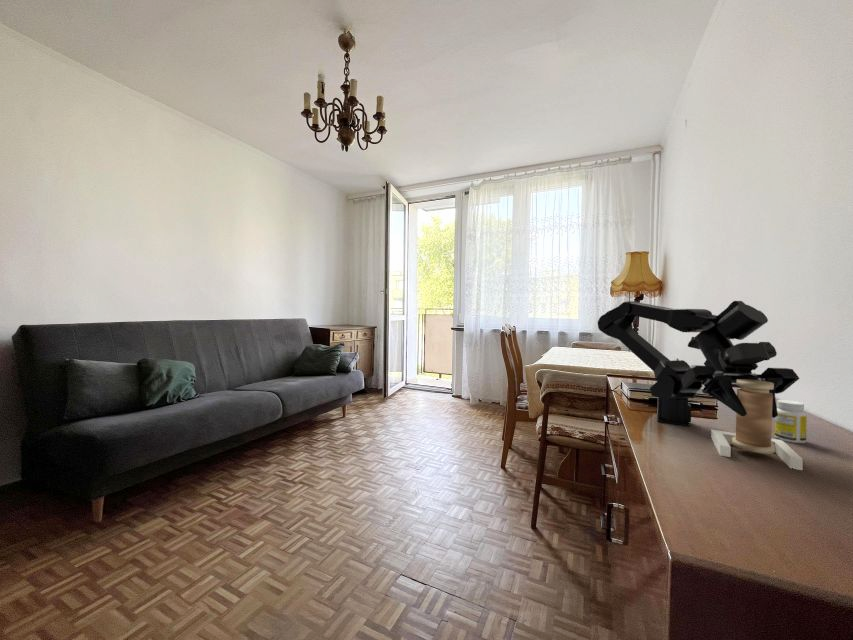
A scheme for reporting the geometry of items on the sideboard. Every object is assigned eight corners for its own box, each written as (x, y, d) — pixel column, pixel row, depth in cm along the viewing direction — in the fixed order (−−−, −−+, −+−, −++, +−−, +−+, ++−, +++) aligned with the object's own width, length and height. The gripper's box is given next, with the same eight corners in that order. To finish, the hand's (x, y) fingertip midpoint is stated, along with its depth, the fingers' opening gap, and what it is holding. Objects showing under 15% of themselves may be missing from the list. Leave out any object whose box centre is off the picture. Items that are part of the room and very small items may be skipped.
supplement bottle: (796, 437, 75) (797, 400, 75) (812, 445, 71) (813, 405, 71) (769, 434, 77) (770, 398, 77) (783, 442, 72) (784, 403, 72)
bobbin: (735, 448, 65) (737, 382, 65) (729, 439, 70) (731, 377, 70) (779, 456, 61) (781, 386, 61) (769, 445, 66) (771, 380, 66)
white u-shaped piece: (720, 455, 65) (720, 445, 65) (711, 438, 74) (711, 429, 74) (802, 470, 59) (802, 459, 59) (781, 450, 68) (781, 440, 68)
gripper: (690, 327, 71) (727, 390, 60) (792, 328, 68) (850, 396, 57) (668, 359, 78) (698, 420, 68) (758, 362, 76) (804, 426, 65)
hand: (759, 415), depth 64 cm, fingers closed on bobbin, 5 cm apart
